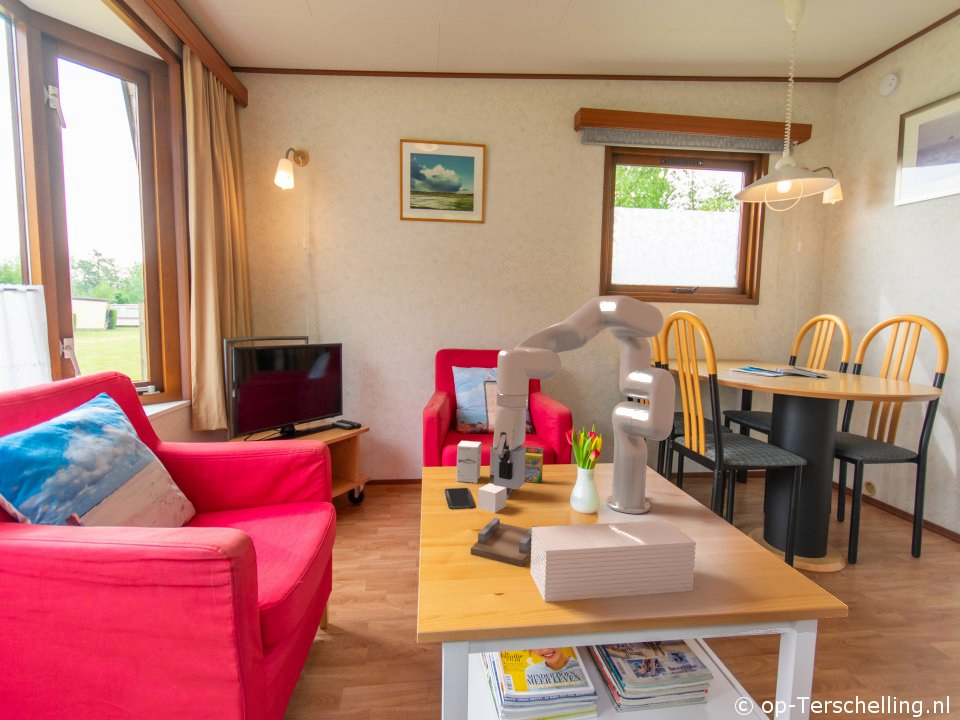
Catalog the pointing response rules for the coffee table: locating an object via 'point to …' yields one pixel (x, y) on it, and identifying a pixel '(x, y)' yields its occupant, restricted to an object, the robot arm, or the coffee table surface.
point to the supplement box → (468, 461)
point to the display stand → (504, 543)
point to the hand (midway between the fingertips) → (509, 474)
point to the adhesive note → (492, 497)
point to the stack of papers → (611, 560)
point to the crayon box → (533, 465)
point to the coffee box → (492, 466)
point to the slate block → (517, 470)
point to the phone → (459, 498)
